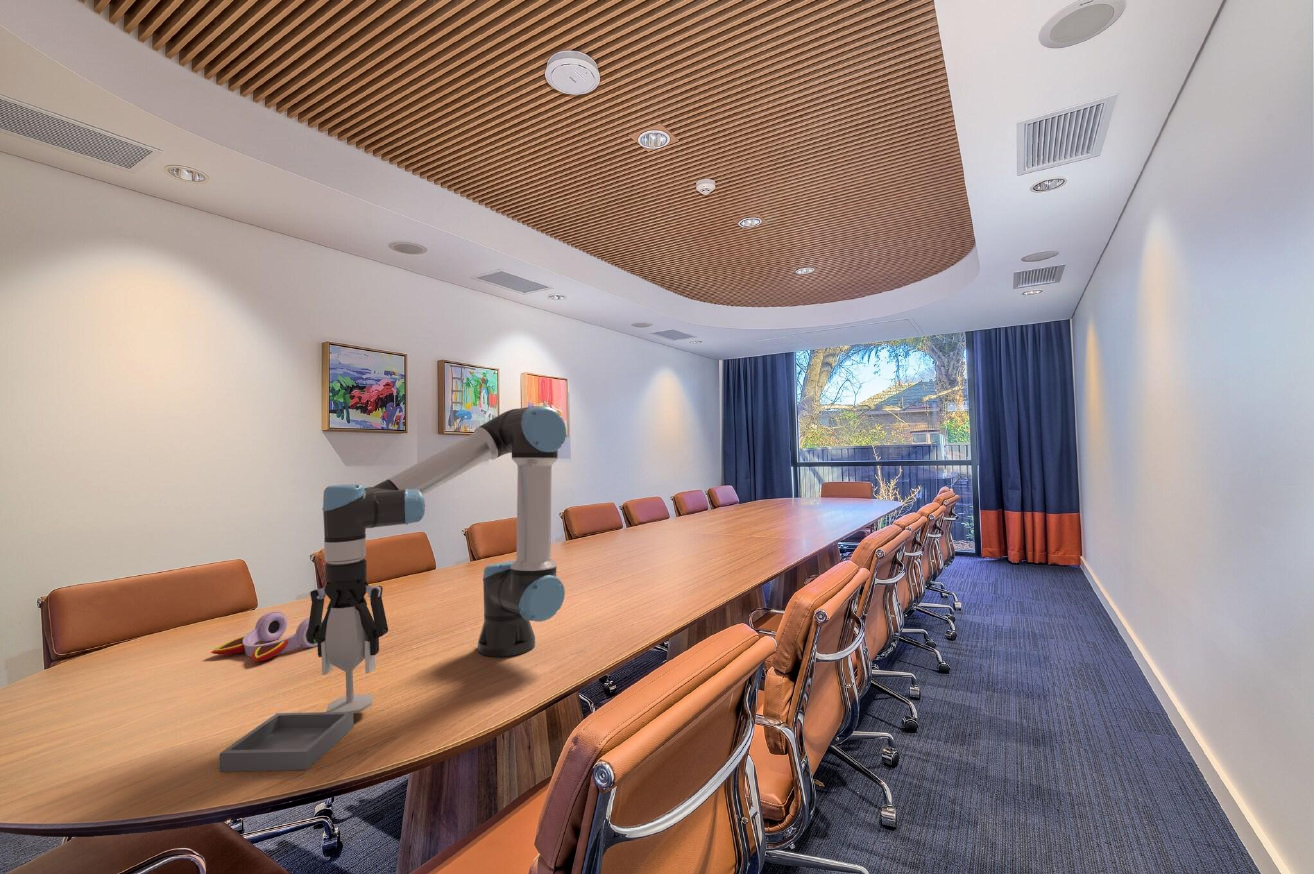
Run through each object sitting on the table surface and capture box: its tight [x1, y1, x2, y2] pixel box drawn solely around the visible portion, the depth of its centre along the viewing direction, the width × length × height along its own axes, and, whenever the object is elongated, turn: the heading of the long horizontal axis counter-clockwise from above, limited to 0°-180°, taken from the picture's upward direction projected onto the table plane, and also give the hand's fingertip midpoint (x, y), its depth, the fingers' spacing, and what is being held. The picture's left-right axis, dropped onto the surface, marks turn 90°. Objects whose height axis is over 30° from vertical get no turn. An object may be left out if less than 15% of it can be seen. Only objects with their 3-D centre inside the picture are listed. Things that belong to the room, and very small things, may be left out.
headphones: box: [210, 610, 324, 662], centre depth 161 cm, size 20×10×20 cm
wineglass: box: [325, 603, 374, 714], centre depth 120 cm, size 9×9×21 cm
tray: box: [218, 711, 354, 772], centre depth 107 cm, size 15×15×3 cm
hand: (349, 671), depth 120 cm, fingers closed on wineglass, 8 cm apart
